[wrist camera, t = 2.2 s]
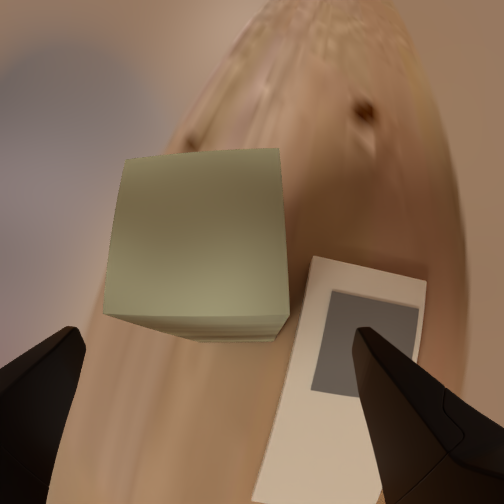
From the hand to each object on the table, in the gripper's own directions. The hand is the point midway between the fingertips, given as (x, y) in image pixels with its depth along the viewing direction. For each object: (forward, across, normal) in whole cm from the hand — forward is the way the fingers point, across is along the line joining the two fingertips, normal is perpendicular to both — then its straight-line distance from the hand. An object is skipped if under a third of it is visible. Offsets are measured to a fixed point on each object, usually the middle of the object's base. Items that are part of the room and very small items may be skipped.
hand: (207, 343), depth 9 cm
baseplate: (+5, -7, +9) cm, 13 cm away
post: (+9, 0, +5) cm, 10 cm away
